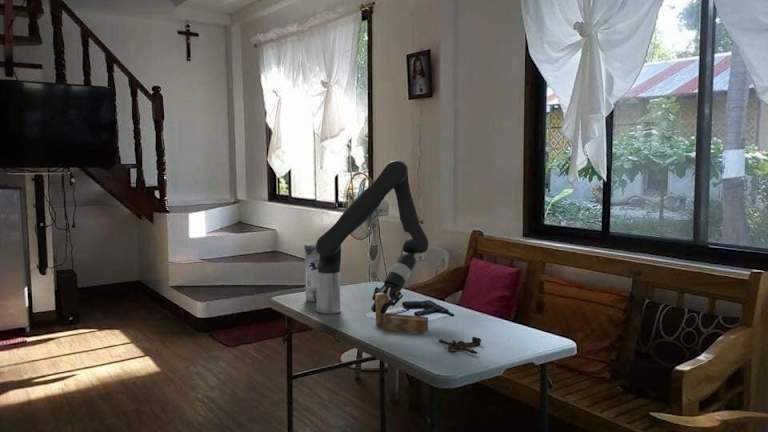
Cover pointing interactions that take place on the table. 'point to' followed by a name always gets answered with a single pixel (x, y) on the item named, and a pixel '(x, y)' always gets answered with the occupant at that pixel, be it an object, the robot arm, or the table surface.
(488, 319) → the table surface
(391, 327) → the walnut rail
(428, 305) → the gun
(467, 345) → the brown toy figure
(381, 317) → the oak post
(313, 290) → the juice carton
